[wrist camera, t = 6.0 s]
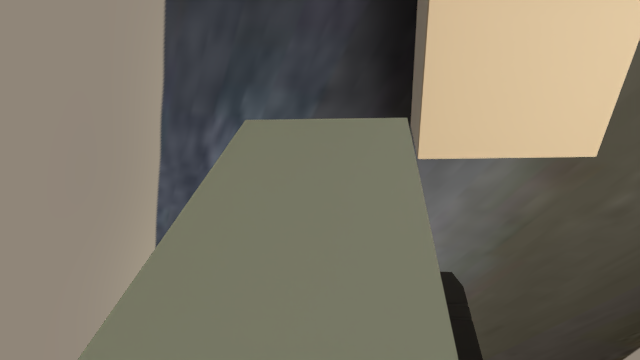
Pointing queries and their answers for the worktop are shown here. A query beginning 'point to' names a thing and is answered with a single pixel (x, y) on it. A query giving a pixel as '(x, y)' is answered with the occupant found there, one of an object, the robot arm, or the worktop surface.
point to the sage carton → (293, 255)
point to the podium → (518, 76)
